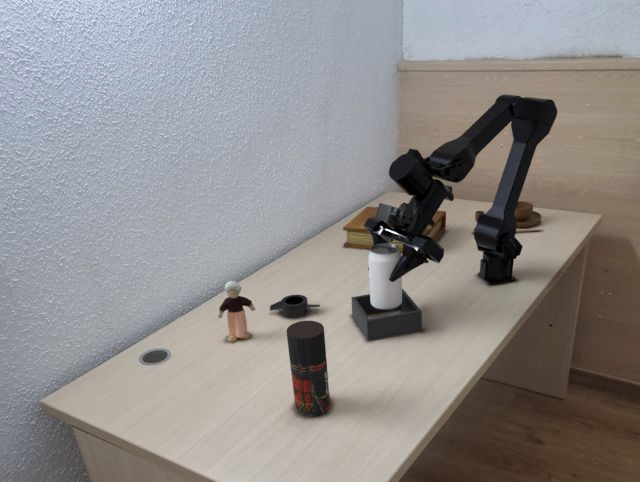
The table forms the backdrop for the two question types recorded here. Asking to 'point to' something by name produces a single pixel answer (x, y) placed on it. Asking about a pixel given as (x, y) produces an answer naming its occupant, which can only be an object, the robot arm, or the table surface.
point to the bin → (386, 318)
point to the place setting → (521, 215)
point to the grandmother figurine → (235, 311)
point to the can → (384, 276)
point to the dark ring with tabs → (293, 306)
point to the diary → (364, 240)
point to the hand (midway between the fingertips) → (380, 275)
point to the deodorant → (309, 367)
